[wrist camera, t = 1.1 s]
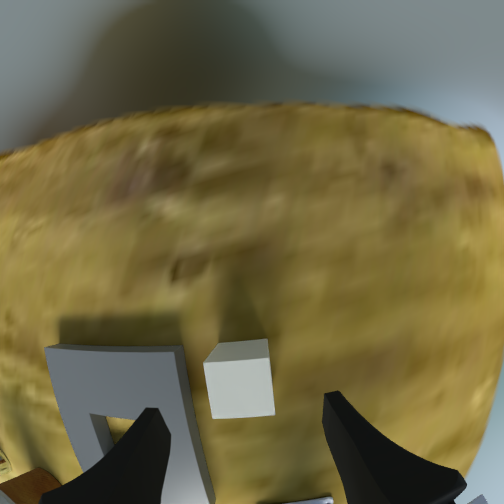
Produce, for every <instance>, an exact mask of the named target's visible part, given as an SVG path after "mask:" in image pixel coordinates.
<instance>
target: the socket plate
mask: <svg viewBox="0 0 504 504" xmlns="http://www.w3.org/2000/svg"><path fill="white" fill-rule="evenodd" d="M44 349H45V354H46V360H47V364H48V369H49V373H50V378H51V382H52V386H53V390H54V393H55V397H56V400H57V404H58V407H59V410H60V414H61V417H62V420H63V423H64V426H65V428H66V431H67V434H68V437H69V439H70V442H71V445H72V447H73V450H74V452H75V454H76V457H77V459H78V461H79V464H80V466H81V468H82V470H83V472H85V471H87V470H88V469H90V468H91V467H92V466H94V465H95V464H96V463H97V462H98V461H99V460H101V459H102V458H103V457H104V456H105V455H106V454H107V453H108V452H109V451H110V450H111V449H112V448H113V447H114V446H115V445H114V442H113V439H112V436H111V433H110V430H109V427H108V424H107V421H106V417H105V416H109V417H116V418H124V419H132V420H136V419H137V418H138V417H139V415H140V414H141V413H142V412H143V410H144V409H145V408H146V407H149V408H159V410H160V412H161V415H162V417H163V419H164V421H165V423H166V425H167V427H168V429H169V431H170V433H171V448H170V456H169V461H168V466H167V470H166V475H165V480H164V485H163V489H162V496H161V504H215V501H216V497H215V494H214V490H213V487H212V483H211V480H210V476H209V472H208V468H207V464H206V460H205V456H204V452H203V448H202V444H201V440H200V435H199V431H198V426H197V421H196V417H195V412H194V407H193V402H192V396H191V391H190V386H189V380H188V374H187V368H186V362H185V356H184V349H183V345H175V346H93V345H72V344H56V345H52V346H48V347H44Z"/></svg>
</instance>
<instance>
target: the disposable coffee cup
mask: <svg viewBox="0 0 504 504" xmlns="http://www.w3.org/2000/svg"><path fill="white" fill-rule="evenodd" d="M60 486H62V485H61V484H60V483H59V482H58V481H57V480H56V479H55V478H54V477H53V476H52V475H51V474H50V473H48V472H47V471H45V470H43V469H41V468H35V469H33V470H31V471H29V472H27V473H24V474H22V475H20V476H18V477H15V478H13V479H11V480H8V481H6V482H3V483H1V484H0V504H38V503H39V500H40V498H41V495H42V493H45V492H48V491H51V490H53V489H55V488H58V487H60Z"/></svg>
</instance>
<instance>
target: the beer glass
mask: <svg viewBox="0 0 504 504" xmlns="http://www.w3.org/2000/svg"><path fill="white" fill-rule="evenodd" d="M11 471H12V468H11V465H10V463H9V461H8V459H7V458H6V456H5V455H4V453H3V452H2V451H1V450H0V476H1V475H3V474H7V473H10V472H11Z"/></svg>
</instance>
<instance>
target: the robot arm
mask: <svg viewBox="0 0 504 504" xmlns="http://www.w3.org/2000/svg"><path fill="white" fill-rule="evenodd" d="M322 424H323V428H324V432H325V436H326V440H327V443H328V446H329V448H330V451H331V454H332V456H333V459H334V461H335V464H336V466H337V469H338V472H339V474H340V477H341V480H342V483H343V486H344V490H345V494H346V498H347V503H348V504H456V503H455V502H454V499H455V498H456V497H457V496H458V495H460V494H461V493H462V492H463V491H464V490H465V488H466V486H467V483H466V482H465V480H464V478H463V477H462V475H461V474H460V473H459V472H458V470H455V469H451V468H447V467H444V466H441V465H438V464H435V463H432V462H430V461H427V460H425V459H423V458H421V457H419V456H417V455H415V454H413V453H411V452H409V451H407V450H405V449H404V448H402V447H400V446H399V445H397V444H396V443H394V442H393V441H391V440H390V439H388V438H387V437H386V436H384V435H383V434H382V433H381V432H379V431H378V430H377V429H376V428H375V427H373V426H372V425H371V424H370V423H369V422H368V421H367V420H366V419H365V418H364V417H363V416H361V415H360V414H359V413H358V411H357V410H356V409H355V408H354V407H353V406H352V405H351V404H350V403H349V402H348V401H347V400H346V398H345V397H344V396H343V395H342V394H341V392H339V391H333V392H329V393H324V405H323V417H322ZM170 448H171V433H170V431H169V429H168V427H167V425H166V423H165V421H164V419H163V417H162V415H161V412H160V410H159V408H149V407H146V408H145V409H144V410H143V412H142V413H141V414H140V415H139V417H138V418H137V419H136V420H135V422H134V423H133V424H132V426H131V427H130V428H129V429H128V431H127V432H126V433H125V434H124V435H123V437H122V438H121V439H120V440H119V441H118V442H117V443H116V444H115V446H114V447H113V448H112V449H111V450H110V451H109V452H108V453H107V454H106V455H105V456H104V457H103V458H102V459H101V460H99V461H98V462H97V463H96V464H95V465H94V466H92V467H91V468H90V469H88V470H87V471H85V472H84V473H83V474H81V475H80V476H78V477H77V478H75V479H73V480H72V481H70V482H68V483H66V484H64V485H62V486H60V487H58V488H55V489H53V490H51V491H48V492H45V493H42V495H41V498H40V500H39V503H38V504H161V496H162V489H163V485H164V480H165V475H166V470H167V466H168V461H169V456H170ZM284 504H333V498H332V497H325V498H319V499H314V500H307V501H301V502H293V503H284ZM468 504H488V503H487V501H486V499H485V498H484V496H483V495H480V496H478V497H477V498H475V499H474V500H473V501H471V502H469V503H468Z"/></svg>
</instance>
